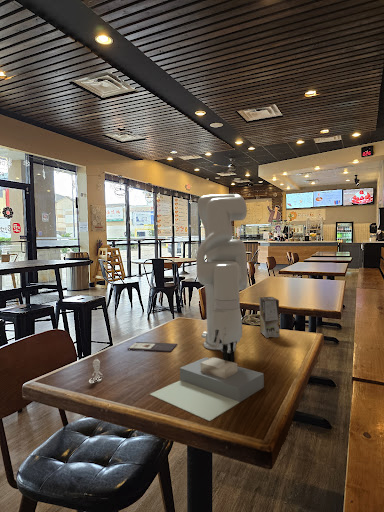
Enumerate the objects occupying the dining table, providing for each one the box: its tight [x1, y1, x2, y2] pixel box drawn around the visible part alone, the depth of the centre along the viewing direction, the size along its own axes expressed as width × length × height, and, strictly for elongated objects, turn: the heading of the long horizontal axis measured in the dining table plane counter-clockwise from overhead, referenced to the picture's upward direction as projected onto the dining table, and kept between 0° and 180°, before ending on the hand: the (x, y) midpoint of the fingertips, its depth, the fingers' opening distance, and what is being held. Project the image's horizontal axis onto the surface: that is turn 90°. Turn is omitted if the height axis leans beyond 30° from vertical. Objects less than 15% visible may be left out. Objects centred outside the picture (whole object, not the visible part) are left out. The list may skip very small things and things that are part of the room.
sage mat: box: [149, 379, 239, 422], centre depth 93 cm, size 22×12×1 cm, turn 47°
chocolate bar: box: [127, 341, 178, 353], centre depth 139 cm, size 9×1×18 cm
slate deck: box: [179, 357, 265, 404], centre depth 102 cm, size 22×12×4 cm, turn 47°
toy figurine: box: [88, 356, 104, 384], centre depth 106 cm, size 5×8×7 cm, turn 175°
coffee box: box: [258, 296, 281, 339], centre depth 150 cm, size 9×6×16 cm
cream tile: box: [200, 356, 238, 378], centre depth 101 cm, size 9×6×2 cm, turn 48°
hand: (228, 364), depth 104 cm, fingers closed
